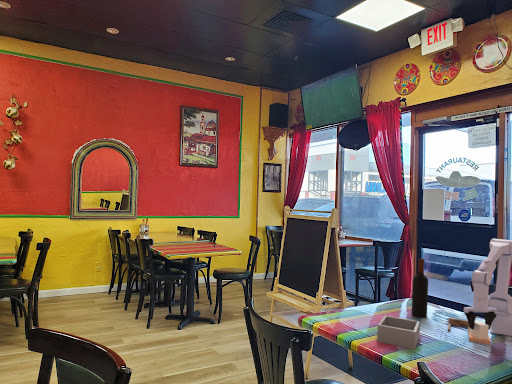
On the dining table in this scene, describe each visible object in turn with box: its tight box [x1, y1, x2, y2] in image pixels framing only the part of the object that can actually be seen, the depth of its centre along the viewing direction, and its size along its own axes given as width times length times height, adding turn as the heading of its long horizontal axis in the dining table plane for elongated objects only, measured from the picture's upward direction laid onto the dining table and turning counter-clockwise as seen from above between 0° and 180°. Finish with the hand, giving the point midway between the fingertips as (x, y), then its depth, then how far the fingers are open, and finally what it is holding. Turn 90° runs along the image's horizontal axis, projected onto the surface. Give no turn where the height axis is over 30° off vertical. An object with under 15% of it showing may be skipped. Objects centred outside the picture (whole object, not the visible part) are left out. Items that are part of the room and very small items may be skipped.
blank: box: [471, 320, 490, 339], centre depth 175 cm, size 4×6×6 cm, turn 7°
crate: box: [376, 315, 421, 350], centre depth 171 cm, size 15×17×7 cm
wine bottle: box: [411, 258, 429, 319], centre depth 210 cm, size 8×8×30 cm
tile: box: [468, 332, 491, 345], centre depth 175 cm, size 8×8×2 cm
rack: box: [447, 317, 471, 336], centre depth 190 cm, size 10×14×3 cm
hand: (479, 328), depth 175 cm, fingers open, 7 cm apart
